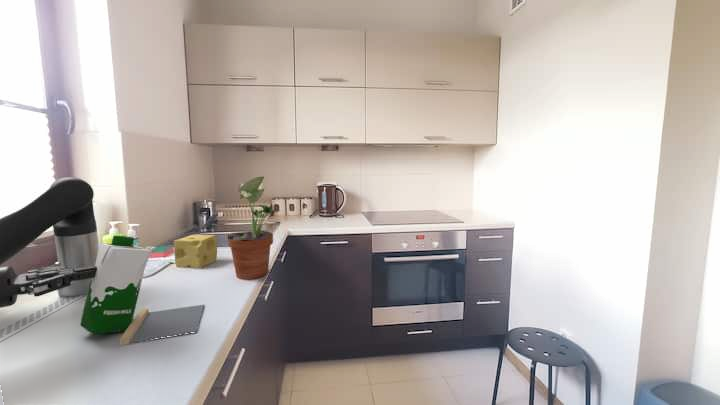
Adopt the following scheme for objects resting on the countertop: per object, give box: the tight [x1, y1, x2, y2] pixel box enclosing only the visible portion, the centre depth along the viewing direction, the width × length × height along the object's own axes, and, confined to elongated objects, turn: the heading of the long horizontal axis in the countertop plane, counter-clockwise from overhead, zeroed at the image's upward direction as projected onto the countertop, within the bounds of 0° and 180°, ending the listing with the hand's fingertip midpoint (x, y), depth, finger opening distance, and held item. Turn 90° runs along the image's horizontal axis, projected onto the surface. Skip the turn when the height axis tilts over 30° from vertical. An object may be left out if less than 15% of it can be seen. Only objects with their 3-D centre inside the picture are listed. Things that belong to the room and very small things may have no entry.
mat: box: [119, 304, 205, 346], centre depth 74 cm, size 14×14×2 cm
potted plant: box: [227, 176, 275, 281], centre depth 105 cm, size 16×15×35 cm
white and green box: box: [80, 235, 152, 335], centre depth 72 cm, size 9×9×20 cm
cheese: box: [173, 234, 218, 269], centre depth 118 cm, size 10×11×10 cm
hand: (98, 271), depth 69 cm, fingers closed
